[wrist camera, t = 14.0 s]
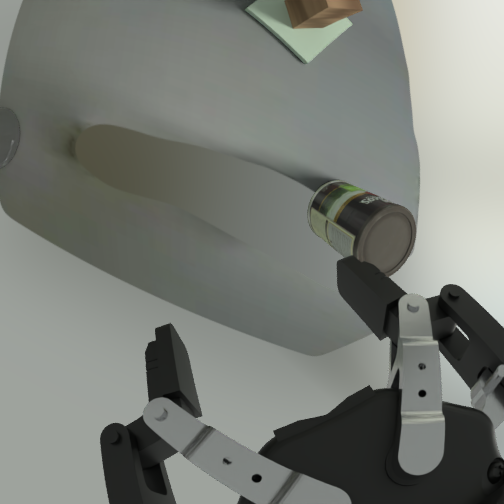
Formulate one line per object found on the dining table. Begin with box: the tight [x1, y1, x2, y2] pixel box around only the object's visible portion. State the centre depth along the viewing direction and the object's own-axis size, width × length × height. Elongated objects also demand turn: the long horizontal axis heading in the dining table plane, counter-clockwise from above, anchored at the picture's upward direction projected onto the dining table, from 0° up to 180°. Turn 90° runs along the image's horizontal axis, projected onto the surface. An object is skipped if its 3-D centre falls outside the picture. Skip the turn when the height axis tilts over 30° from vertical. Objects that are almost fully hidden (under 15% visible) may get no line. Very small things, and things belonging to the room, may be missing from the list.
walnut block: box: [284, 0, 363, 29], centre depth 25 cm, size 5×5×10 cm
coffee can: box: [308, 180, 416, 277], centre depth 39 cm, size 10×10×14 cm
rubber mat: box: [245, 0, 352, 64], centre depth 29 cm, size 12×12×1 cm
